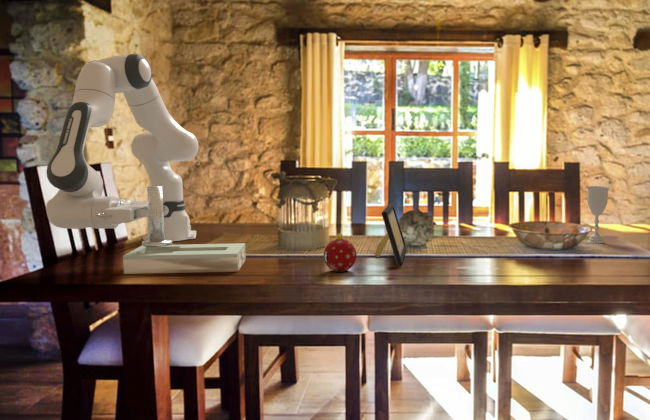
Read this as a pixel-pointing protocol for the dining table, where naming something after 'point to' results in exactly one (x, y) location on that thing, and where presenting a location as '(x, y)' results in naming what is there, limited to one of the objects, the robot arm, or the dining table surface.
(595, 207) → the chalice
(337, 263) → the christmas ornament
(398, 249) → the picture frame
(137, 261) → the keyhole board
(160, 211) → the keyhole peg
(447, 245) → the dining table surface
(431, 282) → the dining table surface
